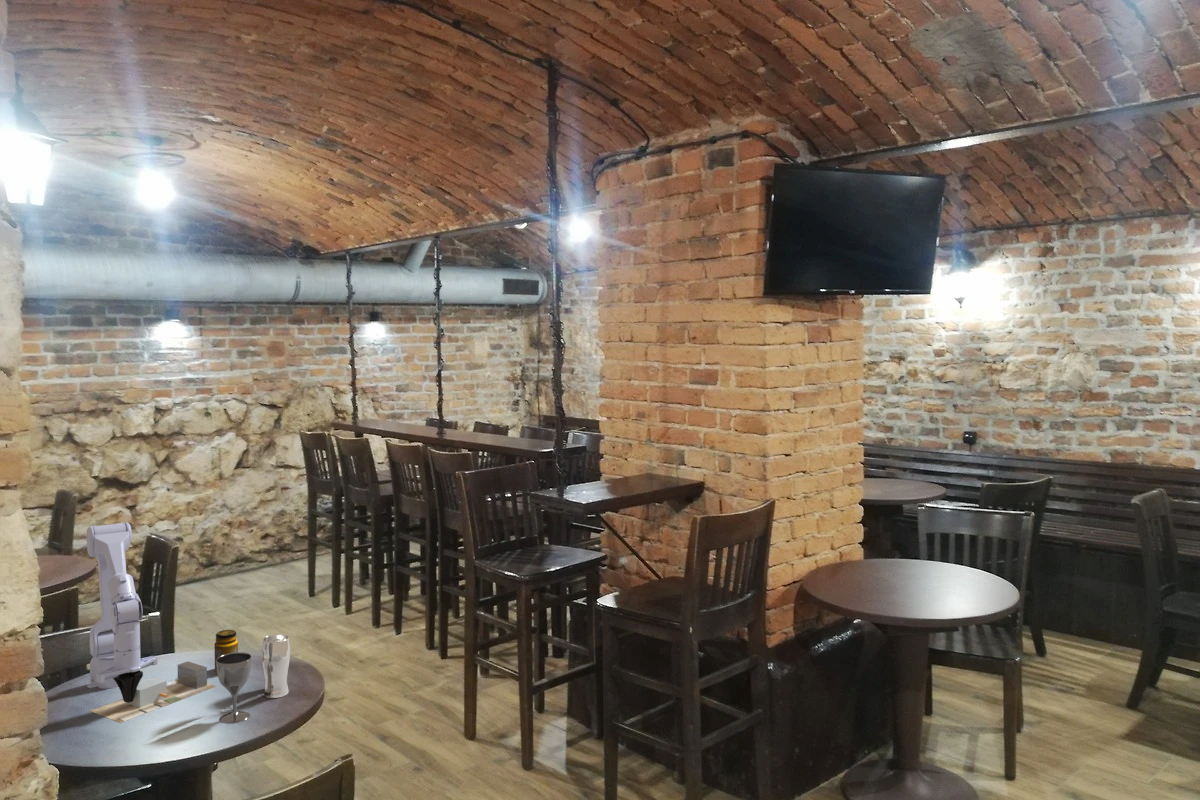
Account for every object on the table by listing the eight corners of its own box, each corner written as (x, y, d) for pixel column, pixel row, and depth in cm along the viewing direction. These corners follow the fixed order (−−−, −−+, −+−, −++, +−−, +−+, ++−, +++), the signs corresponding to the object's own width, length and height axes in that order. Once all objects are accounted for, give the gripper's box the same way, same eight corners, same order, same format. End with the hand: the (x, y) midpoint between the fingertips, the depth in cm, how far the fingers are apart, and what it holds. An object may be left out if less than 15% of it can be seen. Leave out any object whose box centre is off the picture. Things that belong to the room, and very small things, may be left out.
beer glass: (281, 700, 225) (280, 643, 224) (256, 697, 226) (256, 641, 225) (295, 689, 232) (295, 634, 231) (272, 687, 233) (271, 632, 232)
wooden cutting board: (89, 715, 215) (89, 709, 214) (185, 680, 237) (185, 675, 237) (120, 727, 208) (120, 721, 208) (216, 690, 231) (216, 685, 230)
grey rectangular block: (177, 683, 232) (177, 664, 232) (188, 679, 235) (187, 661, 235) (196, 689, 228) (196, 670, 228) (206, 685, 231) (206, 667, 231)
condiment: (243, 674, 242) (243, 632, 241) (212, 682, 236) (211, 639, 235) (233, 667, 247) (232, 626, 246) (202, 675, 241) (201, 633, 240)
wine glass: (248, 723, 211) (247, 663, 210) (213, 725, 210) (212, 664, 209) (255, 709, 219) (254, 651, 218) (222, 711, 218) (221, 652, 217)
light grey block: (128, 703, 219) (127, 686, 219) (168, 688, 228) (168, 672, 228) (146, 710, 215) (145, 692, 215) (186, 694, 225) (186, 677, 224)
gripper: (107, 660, 207) (108, 715, 208) (164, 642, 220) (165, 694, 221) (90, 654, 211) (92, 708, 212) (147, 637, 223) (148, 688, 224)
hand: (128, 701), depth 216 cm, fingers closed
